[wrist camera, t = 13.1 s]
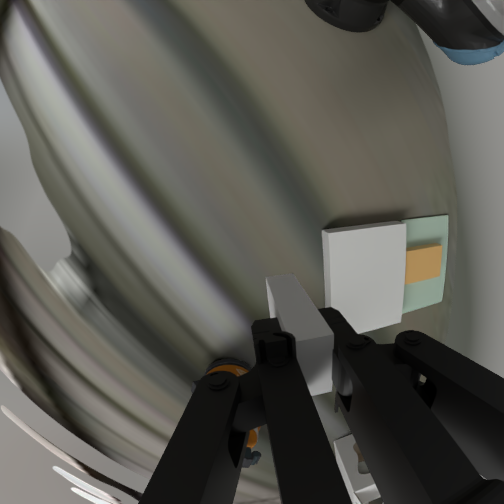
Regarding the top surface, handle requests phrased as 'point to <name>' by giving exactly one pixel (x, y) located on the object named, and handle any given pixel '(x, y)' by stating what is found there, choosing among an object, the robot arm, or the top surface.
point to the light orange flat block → (423, 262)
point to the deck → (366, 273)
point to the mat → (437, 232)
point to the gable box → (354, 471)
